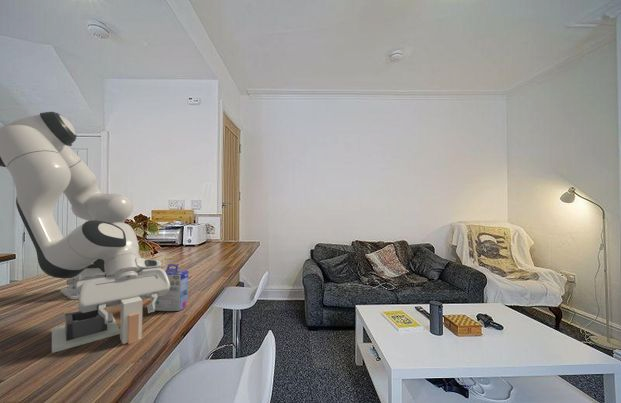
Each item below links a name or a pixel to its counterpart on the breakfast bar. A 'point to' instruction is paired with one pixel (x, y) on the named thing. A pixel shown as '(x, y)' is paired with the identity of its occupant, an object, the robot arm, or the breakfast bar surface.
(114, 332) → the socket
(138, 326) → the cream square peg
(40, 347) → the breakfast bar surface
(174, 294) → the ink cartridge box
